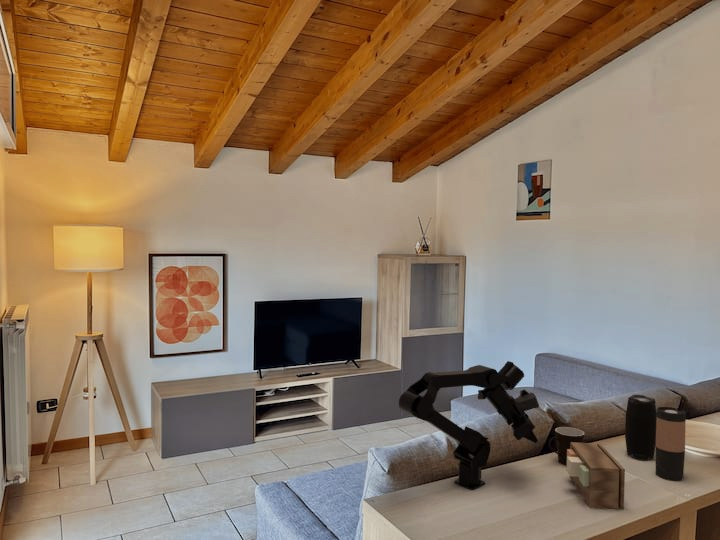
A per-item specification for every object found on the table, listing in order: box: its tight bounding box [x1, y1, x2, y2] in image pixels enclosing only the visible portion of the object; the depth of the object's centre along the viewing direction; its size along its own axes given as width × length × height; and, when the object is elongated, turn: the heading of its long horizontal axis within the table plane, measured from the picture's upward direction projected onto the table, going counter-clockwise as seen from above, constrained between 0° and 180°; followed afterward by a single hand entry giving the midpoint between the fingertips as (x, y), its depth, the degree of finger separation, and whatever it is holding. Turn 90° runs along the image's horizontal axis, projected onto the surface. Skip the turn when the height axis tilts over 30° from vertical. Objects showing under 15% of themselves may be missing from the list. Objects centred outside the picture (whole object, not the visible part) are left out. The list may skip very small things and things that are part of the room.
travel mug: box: [655, 406, 687, 482], centre depth 161 cm, size 8×8×20 cm
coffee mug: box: [548, 426, 585, 466], centre depth 171 cm, size 12×9×10 cm
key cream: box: [566, 457, 583, 477], centre depth 150 cm, size 6×4×4 cm, turn 84°
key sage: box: [579, 465, 590, 486], centre depth 143 cm, size 6×4×4 cm, turn 84°
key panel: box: [569, 442, 626, 510], centre depth 149 cm, size 8×19×11 cm, turn 174°
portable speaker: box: [624, 394, 657, 461], centre depth 176 cm, size 9×9×20 cm
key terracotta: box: [567, 449, 576, 457], centre depth 155 cm, size 6×4×4 cm, turn 84°
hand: (536, 441), depth 158 cm, fingers closed
